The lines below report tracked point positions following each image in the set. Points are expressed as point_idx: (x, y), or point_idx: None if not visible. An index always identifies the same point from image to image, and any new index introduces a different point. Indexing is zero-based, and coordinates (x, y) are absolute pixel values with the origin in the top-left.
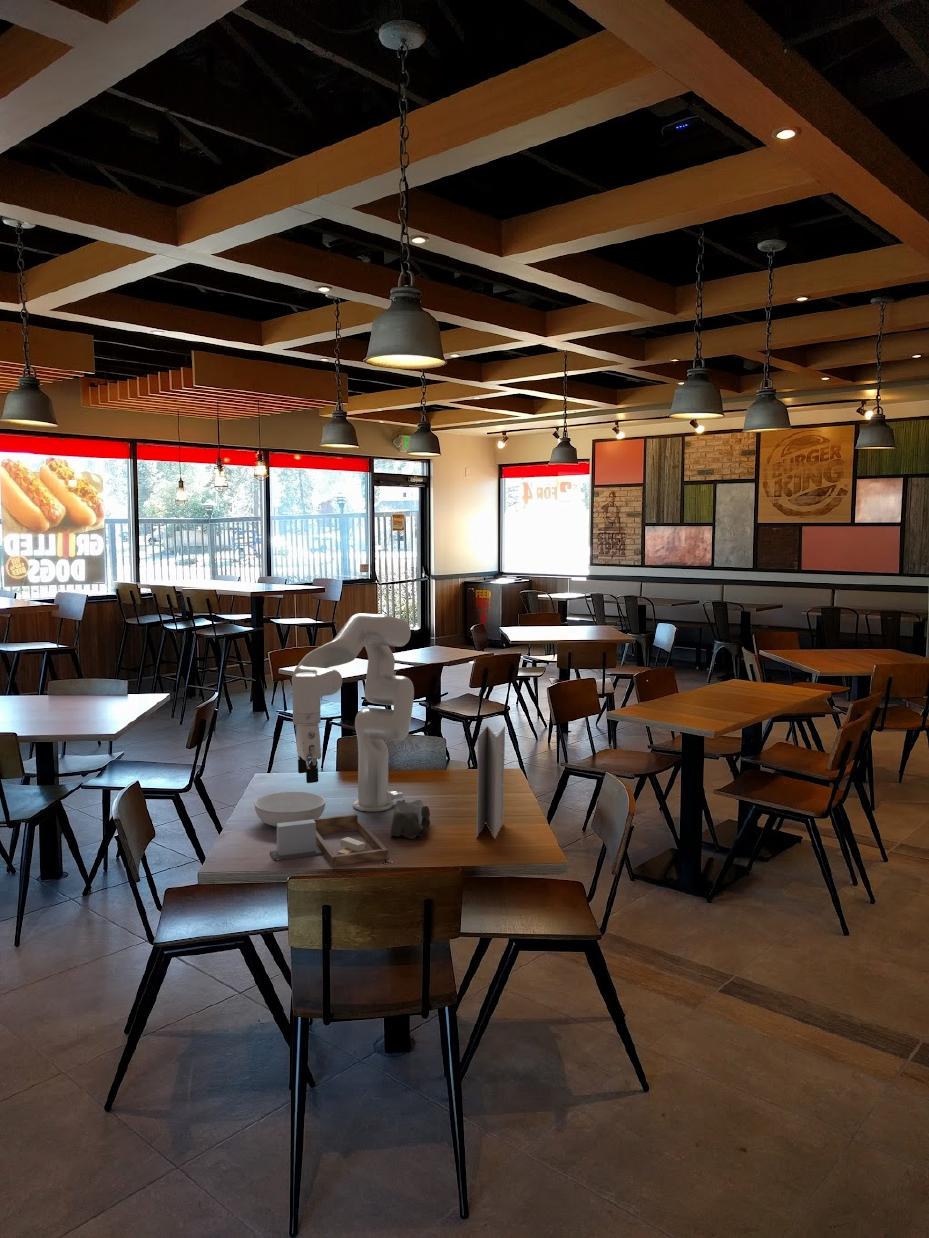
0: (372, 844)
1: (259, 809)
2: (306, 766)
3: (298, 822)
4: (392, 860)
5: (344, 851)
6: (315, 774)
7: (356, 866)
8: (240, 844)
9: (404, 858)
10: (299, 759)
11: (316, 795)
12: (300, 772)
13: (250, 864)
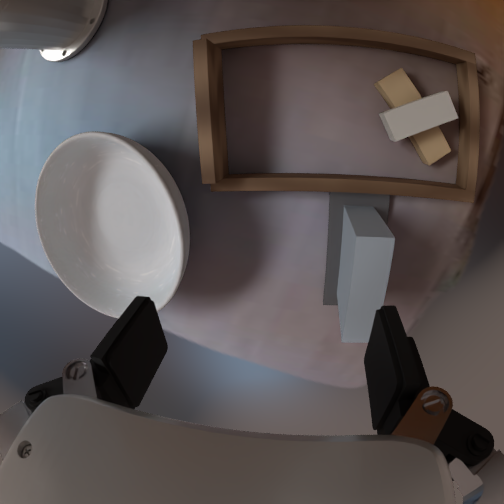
0: (377, 46)
1: None
2: (140, 339)
3: (366, 288)
4: (475, 55)
5: (434, 148)
6: (420, 363)
7: (484, 145)
8: (243, 337)
9: (469, 27)
10: (124, 405)
11: (54, 155)
12: (166, 345)
13: (365, 342)
